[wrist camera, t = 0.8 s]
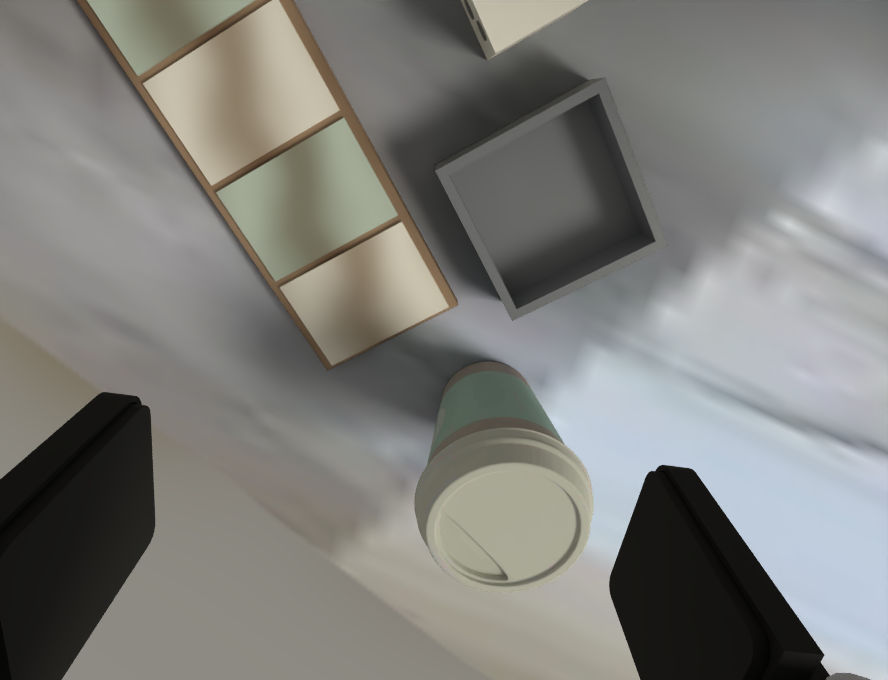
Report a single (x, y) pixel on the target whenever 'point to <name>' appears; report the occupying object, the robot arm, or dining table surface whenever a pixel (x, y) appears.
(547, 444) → the coffee cup
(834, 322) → the dining table surface
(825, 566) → the dining table surface
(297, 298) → the track
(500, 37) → the die
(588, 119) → the dice tray
